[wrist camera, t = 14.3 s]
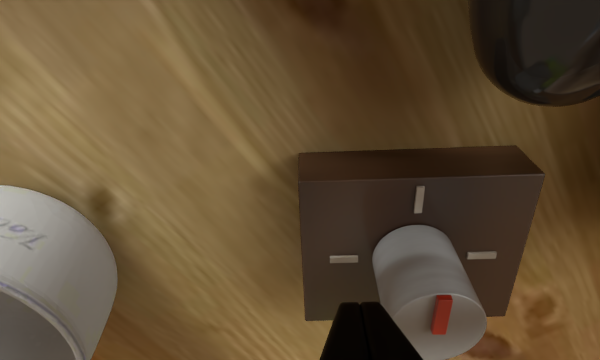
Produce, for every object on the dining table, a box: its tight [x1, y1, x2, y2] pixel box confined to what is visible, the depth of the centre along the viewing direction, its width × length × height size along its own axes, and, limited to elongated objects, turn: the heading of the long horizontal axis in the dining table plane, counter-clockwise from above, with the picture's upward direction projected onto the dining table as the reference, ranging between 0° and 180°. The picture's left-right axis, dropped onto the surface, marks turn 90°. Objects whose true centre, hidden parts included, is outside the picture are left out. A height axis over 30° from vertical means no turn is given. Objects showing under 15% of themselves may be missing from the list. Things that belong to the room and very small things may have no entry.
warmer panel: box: [298, 146, 545, 321], centre depth 22 cm, size 11×9×3 cm
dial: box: [372, 225, 487, 360], centre depth 19 cm, size 4×4×5 cm
